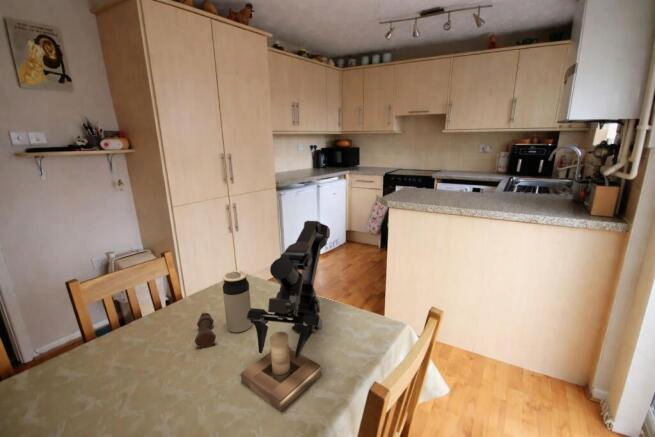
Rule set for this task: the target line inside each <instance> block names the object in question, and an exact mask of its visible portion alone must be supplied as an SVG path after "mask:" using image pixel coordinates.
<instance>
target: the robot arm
mask: <svg viewBox="0 0 655 437" xmlns="http://www.w3.org/2000/svg"><path fill="white" fill-rule="evenodd" d="M330 236H331V229H330V227H329V226H328V225H326V224H324V223H321V222H320V221H319V220H306V221H304V222H303V228H302V229H301V231H300V234H299V235H298V237H297V239H296V241H295V242H293V243H292V244H290V245H288V246H287V248H285V250H284V252H283V253H281V254H280V257H278V258H276V259H275V260H274V261H273V262H272V263H271V265H270V268H269V272H270V274H271V275H272V277H273V279H274V280H275V281H276V282H277V283H278V284H279V285H280V287H279V290H278V291H277V293H276V297H269V299H268V309H267V311H266V309H264V308H254V307H251V309H250V310H249V311H248V313H247V317H246V319H248V320H249V321H251V323H252V326H254V327H255V330H256V335H257V336H256V337H257V345H258V353H259V354H262V353H263V351H264V348H265V344H266V338H267V333H268V330H269V326H268V325H267V324H268V323H269V322H272V323H273V322H274V323H285V324H292V326H291V330H293V331H295V332H297V333H299V336H298V340H297V344H296V349H295V351H296V355H295V357H296V358H298V356H299V354H301V353H302V351H303V349H304V347H305V346H306V344H307V341H308V340H309V339H310V338H311V336H312V334H317V331H322V329H323V319H322V318H321V316H320V315H319V313H320V312H321V307H320V304H321V303H320V300H319V299H318V297H317V294H316V291H315V288H314V284H315V280H316V274H317V270H318V265H319V264H318V263H319V260H320V255H321V250H323V248H324V247H325V246H326V245H327V243H328V240H329V239H330ZM299 270H300V271H301V272H300V271H299Z"/></svg>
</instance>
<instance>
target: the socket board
mask: <svg viewBox="0 0 655 437" xmlns="http://www.w3.org/2000/svg"><path fill="white" fill-rule="evenodd" d="M295 355H296V350H294V349H292V348H290V347H289V358H290V372H292V374H290V376H289V377H288V378H287V379H286V380H285V381H283V382H282V383H281V384H280V383H279V382H277V381H276V380H274V379H273V377H271V374H272V375H273V373H272V359H271V351H270V352H268V353H266V355H264V356H263V357H261V358H259V359H258V360H257V361H255V362H254V363H252V364H251V365H249V366H248V367H246V369H244V370H243V371H241V372H239V374H238V376H239V377H240V378H241V380H240V381H241V384H242V385H243V386H244V387H247V388H248V389H249V390H251V391H252V392H254V393H255V394H256V395H257V396H259V397H260V398H261V399H263V400H264V401H265V402H267V403H268V404H270V405H271V406H272V407H273V408H275V409H276V410H277V411H279V412H283V410H284V409H286V408H287V407H288V406H289V405H290V404H291V403H292V402H294V400H296V399H297V397H299V396H300V395H301V394H302V393H303V392H304V391H305V390H306V389H307V388H308V387H310V386H311V384H312V383H314V382H315V381H316V380H317V379H318V378H319V377H320V376H321V375H322V370H323V366H322V364H320V363H318V362H316V361H314V360H312V359H311V358H309V357H307V356H305V355H303V354H301V353H300V354H299V356H298V358H296V357H295Z"/></svg>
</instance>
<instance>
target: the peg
mask: <svg viewBox="0 0 655 437" xmlns="http://www.w3.org/2000/svg"><path fill="white" fill-rule="evenodd" d="M269 338H270V339H269V341H270V342H269V343H270V344H269V345H270V352H271V359H272V378H273V379H274V380H276V381H277V382H279V383H280V384H281V383H282V382H283V381H285V380H286V379H287V378H288V377H289V376H291V370H290V358H289V348H290V346H289V345H290V344H289V342H290V341H289V334H288V333H287V332H285V331H277V332H274V333H272V334H271V335H270V337H269Z"/></svg>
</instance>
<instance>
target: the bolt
mask: <svg viewBox="0 0 655 437" xmlns="http://www.w3.org/2000/svg"><path fill="white" fill-rule="evenodd" d="M214 323H215V322H214V319H213V317H212V316H211V314H210V313H207V312H202V313H201V315H200V316H199V318H198V321H197V322H196V325H197V327H198V329H199V331H198V332H197V335H196V337H195V339H194V343H195V345H196V346H197V347H198V348H199V349H208V348H210V347H212V346H213V345H214V344H215V341H216V338H217V336H216V334H215V333H214V331H212V327H213V325H214Z"/></svg>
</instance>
